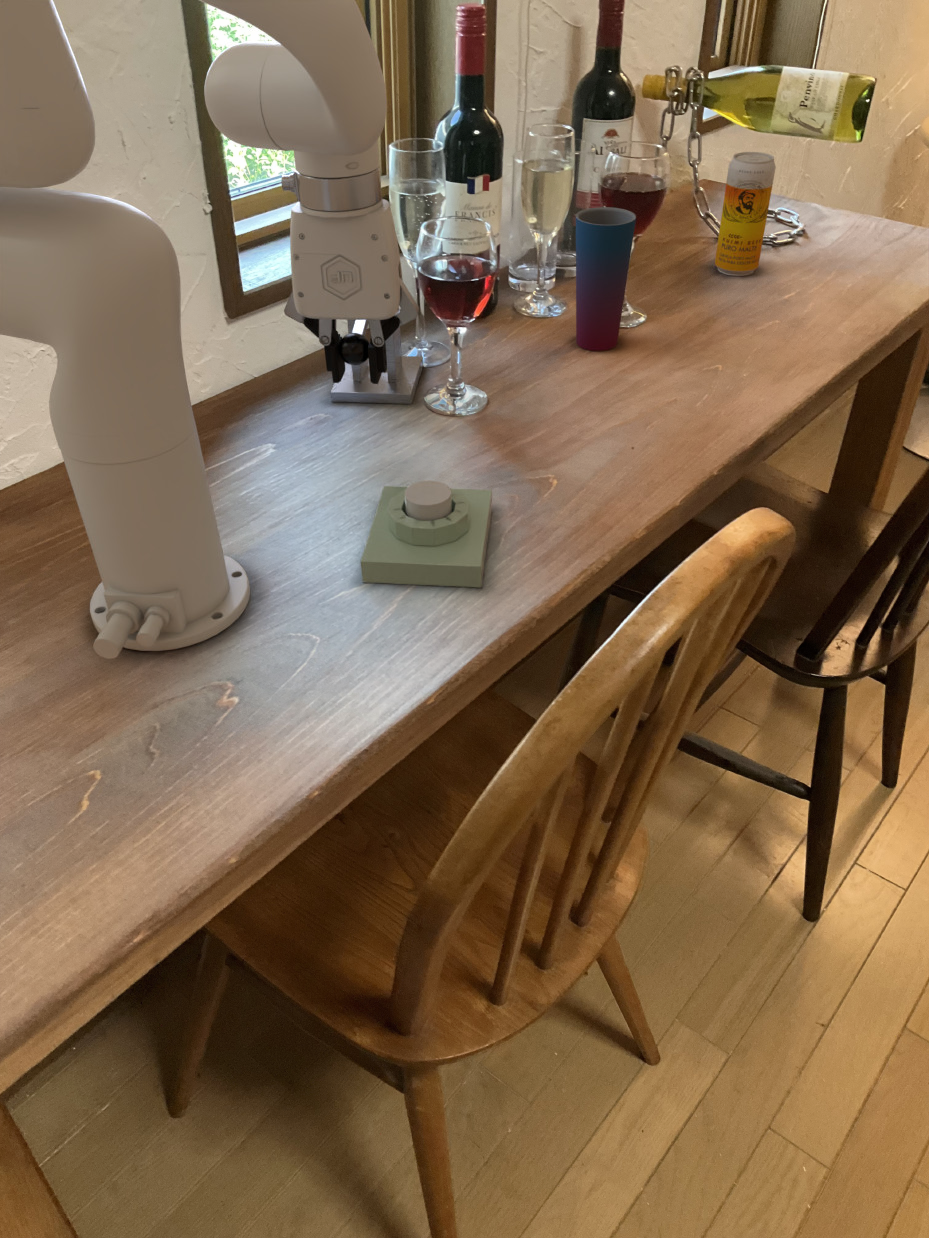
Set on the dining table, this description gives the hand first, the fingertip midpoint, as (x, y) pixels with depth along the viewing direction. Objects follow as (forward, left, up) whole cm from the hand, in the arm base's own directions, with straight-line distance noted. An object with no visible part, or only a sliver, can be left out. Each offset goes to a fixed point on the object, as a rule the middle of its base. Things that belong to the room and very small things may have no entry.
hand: (357, 376), depth 99 cm
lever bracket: (+10, 0, -6) cm, 12 cm away
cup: (+23, -25, -6) cm, 35 cm away
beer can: (+50, -45, -6) cm, 68 cm away
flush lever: (+5, 0, +3) cm, 6 cm away
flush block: (-22, -10, -6) cm, 24 cm away
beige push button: (-22, -10, -2) cm, 24 cm away
